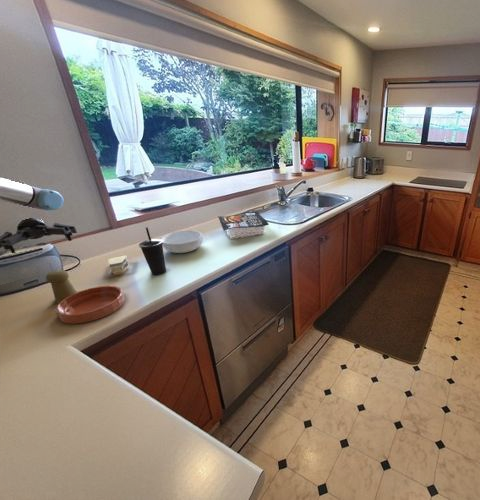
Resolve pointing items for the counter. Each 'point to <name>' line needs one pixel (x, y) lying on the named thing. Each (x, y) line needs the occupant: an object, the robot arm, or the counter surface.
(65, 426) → the counter surface
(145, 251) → the drinking cup
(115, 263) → the sandwich
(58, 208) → the robot arm
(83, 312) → the dish
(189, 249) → the cereal bowl
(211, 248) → the counter surface
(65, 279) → the cork
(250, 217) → the food packaging
